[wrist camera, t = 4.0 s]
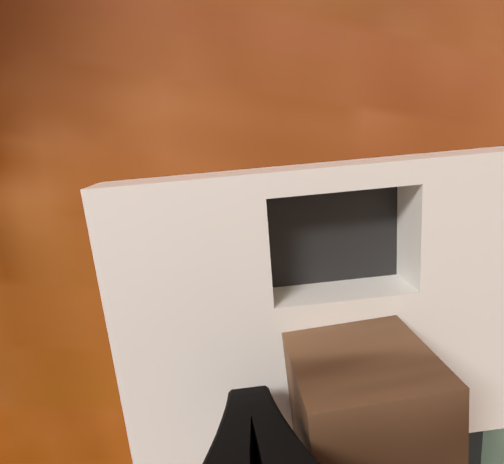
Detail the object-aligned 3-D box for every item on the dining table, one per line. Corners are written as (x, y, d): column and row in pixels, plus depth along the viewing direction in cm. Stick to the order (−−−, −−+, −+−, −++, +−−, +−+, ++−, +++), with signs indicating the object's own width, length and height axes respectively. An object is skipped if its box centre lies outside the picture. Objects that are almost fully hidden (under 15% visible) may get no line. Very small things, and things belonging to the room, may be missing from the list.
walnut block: (400, 413, 14) (467, 516, 10) (293, 431, 14) (321, 543, 10) (396, 314, 13) (469, 388, 9) (281, 332, 13) (307, 415, 9)
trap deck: (568, 464, 18) (649, 539, 15) (161, 520, 17) (146, 615, 14) (616, 135, 14) (738, 135, 11) (100, 181, 13) (59, 197, 10)
